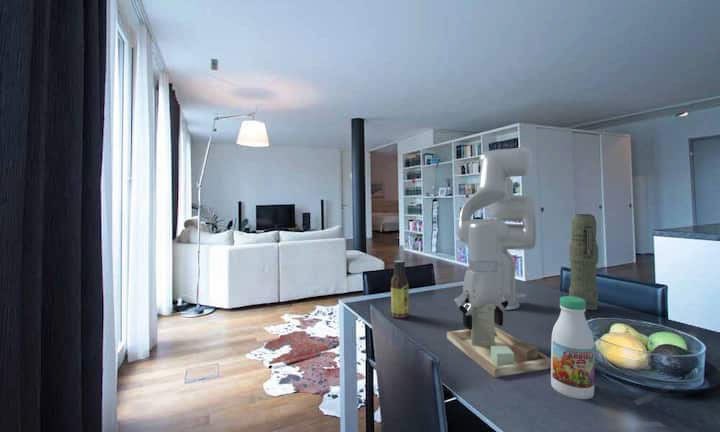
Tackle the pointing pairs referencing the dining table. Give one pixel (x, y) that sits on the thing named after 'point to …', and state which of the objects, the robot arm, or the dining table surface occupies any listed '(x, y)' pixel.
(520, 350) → the walnut block
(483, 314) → the skincare box
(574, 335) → the milk bottle
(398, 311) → the sauce bottle
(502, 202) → the robot arm
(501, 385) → the dining table surface
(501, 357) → the sage block
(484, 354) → the tray
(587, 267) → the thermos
